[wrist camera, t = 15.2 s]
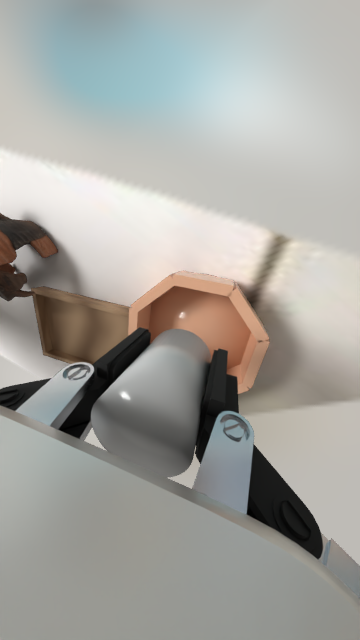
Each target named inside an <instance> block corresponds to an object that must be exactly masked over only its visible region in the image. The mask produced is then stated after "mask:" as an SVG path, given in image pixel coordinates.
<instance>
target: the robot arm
mask: <svg viewBox="0 0 360 640" xmlns="http://www.w3.org/2000/svg"><path fill="white" fill-rule="evenodd" d="M150 340H151V332H149V330H148V329H145V328H141V327H139V328H138V329H136V330H135V331H134V332H133V333H131V334H130V335H129V336H128V337H126V338H125V339H124V340H122V341H121V342H120V343H119V344H117V345H116V346H115V347H113V348H112V349H111V350H110V351H108V352H107V353H106V354H105V355H103V356H102V357H101V358H99V359H98V360H97V361H96V362H95V363H93V364H92V365H91V364H89V363H86V362H78V363H73V364H70V365H68V366H66V367H64V368H63V369H62V370H60V371H59V372H58V373H57V374H56V375H55V376H54V377H53V378H50V379H45V380H40V381H34V382H29V383H24V384H19V385H14V386H9V387H5V388H2V389H0V640H360V566H359V565H358V564H357V563H356V562H355V561H354V560H353V559H352V558H351V557H350V556H349V555H348V554H347V553H346V552H345V551H344V550H343V549H342V548H341V547H340V546H339V545H338V544H337V543H336V542H335V541H334V540H333V539H331V540H327V538H326V537H325V536H324V535H323V534H322V533H321V532H320V529H319V526H318V524H317V523H316V521H315V519H314V517H313V515H312V514H311V512H310V511H309V510H308V508H307V507H306V505H305V504H304V503H303V502H302V501H301V500H300V498H299V497H298V496H297V495H296V494H295V492H294V491H293V490H292V489H291V488H290V487H289V486H288V484H287V483H286V482H285V481H284V480H283V478H282V477H281V476H280V475H279V473H278V472H277V471H276V470H275V469H274V468H273V466H272V465H271V464H270V463H269V462H268V461H267V459H266V458H265V457H264V456H263V455H262V453H261V452H260V451H259V450H258V449H257V447H256V446H255V445H254V431H253V429H252V426H251V425H250V423H249V422H248V421H247V420H246V419H245V418H244V417H243V416H241V415H240V414H239V409H238V381H237V377H236V376H233V375H229V374H227V357H228V351H227V350H223V349H219V348H218V351H217V350H214V353H213V356H212V360H211V364H210V369H209V374H208V379H207V384H206V389H205V394H204V399H203V404H202V409H201V414H200V425H199V430H198V435H197V440H196V451H195V454H196V457H197V459H198V460H199V462H200V464H201V465H200V467H199V470H198V473H197V476H196V479H195V482H194V485H193V488H192V489H190V488H188V487H186V486H184V485H182V484H179V483H177V482H175V481H172V480H170V479H168V478H166V477H164V476H161V475H159V474H157V473H155V472H152V471H150V470H148V469H146V468H144V467H141V466H139V465H137V464H135V463H132V462H130V461H128V460H126V459H123V458H121V457H119V456H117V455H114V454H112V453H110V452H107V451H105V450H103V449H101V448H98V447H96V446H94V445H91V444H89V443H87V442H85V441H84V440H85V438H86V436H87V435H88V433H89V431H90V430H91V428H92V423H91V411H92V407H93V405H94V403H95V402H96V401H97V399H98V398H99V397H100V396H101V395H102V394H103V393H104V392H105V391H106V390H107V389H108V388H109V387H110V386H111V385H112V384H113V383H114V382H115V380H116V379H117V378H118V377H119V376H120V375H121V374H122V373H123V372H124V371H125V370H126V369H127V368H128V367H129V366H130V365H131V364H132V363H133V361H134V360H135V359H136V358H137V357H138V356H139V355H140V354H141V353H142V352H143V351H144V350H145V349H146V348H147V347H148V346H149V345H150Z"/></svg>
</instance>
